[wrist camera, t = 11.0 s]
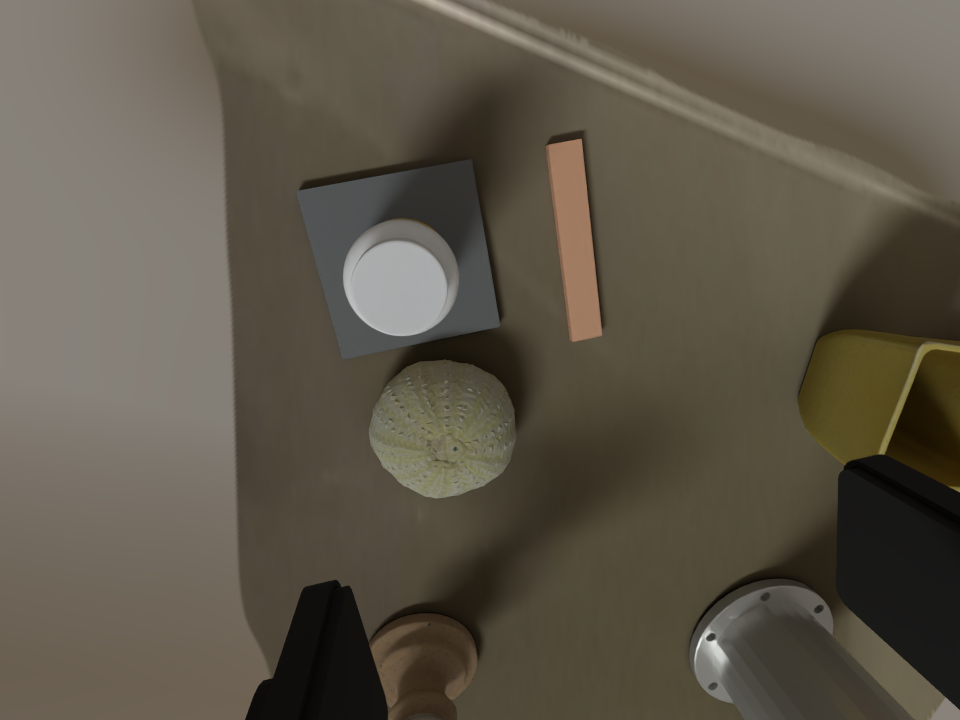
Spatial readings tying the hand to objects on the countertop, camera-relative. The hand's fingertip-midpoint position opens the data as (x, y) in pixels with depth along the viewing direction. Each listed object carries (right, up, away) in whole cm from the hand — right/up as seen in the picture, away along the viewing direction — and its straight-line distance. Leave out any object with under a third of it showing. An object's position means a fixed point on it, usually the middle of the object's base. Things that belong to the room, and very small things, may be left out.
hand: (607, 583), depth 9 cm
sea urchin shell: (-5, 0, +25) cm, 25 cm away
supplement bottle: (-7, +10, +21) cm, 24 cm away
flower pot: (+23, +3, +27) cm, 36 cm away
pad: (-7, +10, +21) cm, 24 cm away
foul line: (+3, +11, +22) cm, 25 cm away
